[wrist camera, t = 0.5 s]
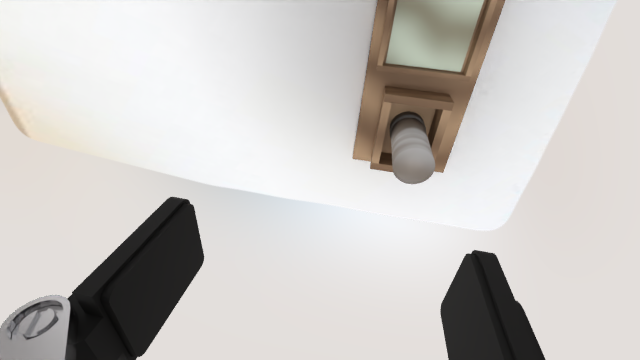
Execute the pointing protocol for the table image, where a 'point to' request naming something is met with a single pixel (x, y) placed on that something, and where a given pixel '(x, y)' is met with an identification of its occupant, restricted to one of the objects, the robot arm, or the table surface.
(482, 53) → the holder
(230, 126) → the table surface
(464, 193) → the table surface
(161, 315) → the robot arm
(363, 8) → the table surface
